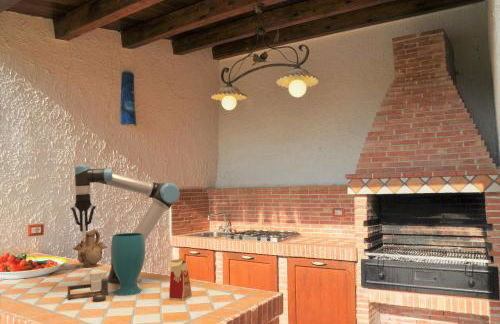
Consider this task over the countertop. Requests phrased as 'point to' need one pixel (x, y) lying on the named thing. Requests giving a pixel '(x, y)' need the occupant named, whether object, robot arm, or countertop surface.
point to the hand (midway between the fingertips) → (84, 237)
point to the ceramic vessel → (90, 249)
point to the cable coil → (99, 298)
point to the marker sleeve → (95, 281)
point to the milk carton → (179, 281)
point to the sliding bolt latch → (88, 294)
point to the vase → (128, 261)
